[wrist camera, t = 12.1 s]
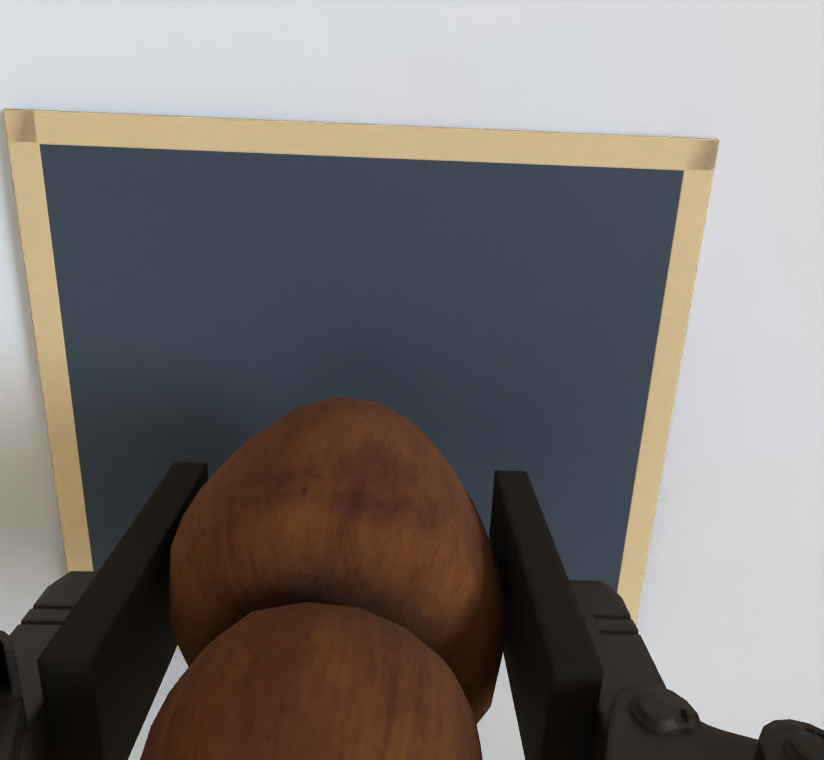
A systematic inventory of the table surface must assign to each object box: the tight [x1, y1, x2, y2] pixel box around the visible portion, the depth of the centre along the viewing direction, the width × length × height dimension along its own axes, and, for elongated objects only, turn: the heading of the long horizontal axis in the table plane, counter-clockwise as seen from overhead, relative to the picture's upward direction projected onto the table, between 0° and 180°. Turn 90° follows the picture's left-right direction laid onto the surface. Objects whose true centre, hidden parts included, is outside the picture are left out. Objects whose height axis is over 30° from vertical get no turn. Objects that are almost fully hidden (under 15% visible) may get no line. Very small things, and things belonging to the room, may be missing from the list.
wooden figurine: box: [140, 396, 508, 760], centre depth 11 cm, size 7×6×15 cm
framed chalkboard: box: [3, 109, 719, 655], centre depth 22 cm, size 20×18×1 cm
